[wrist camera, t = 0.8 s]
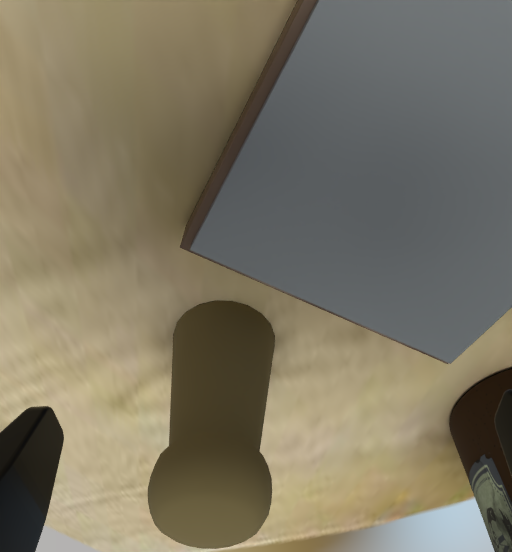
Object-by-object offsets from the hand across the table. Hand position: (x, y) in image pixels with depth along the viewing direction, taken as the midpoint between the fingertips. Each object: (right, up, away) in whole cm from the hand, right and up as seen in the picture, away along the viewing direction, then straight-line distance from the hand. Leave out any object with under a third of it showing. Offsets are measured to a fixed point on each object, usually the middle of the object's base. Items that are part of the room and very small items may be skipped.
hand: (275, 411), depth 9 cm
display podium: (+7, +8, +11) cm, 15 cm away
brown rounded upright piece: (-2, -1, +18) cm, 18 cm away
